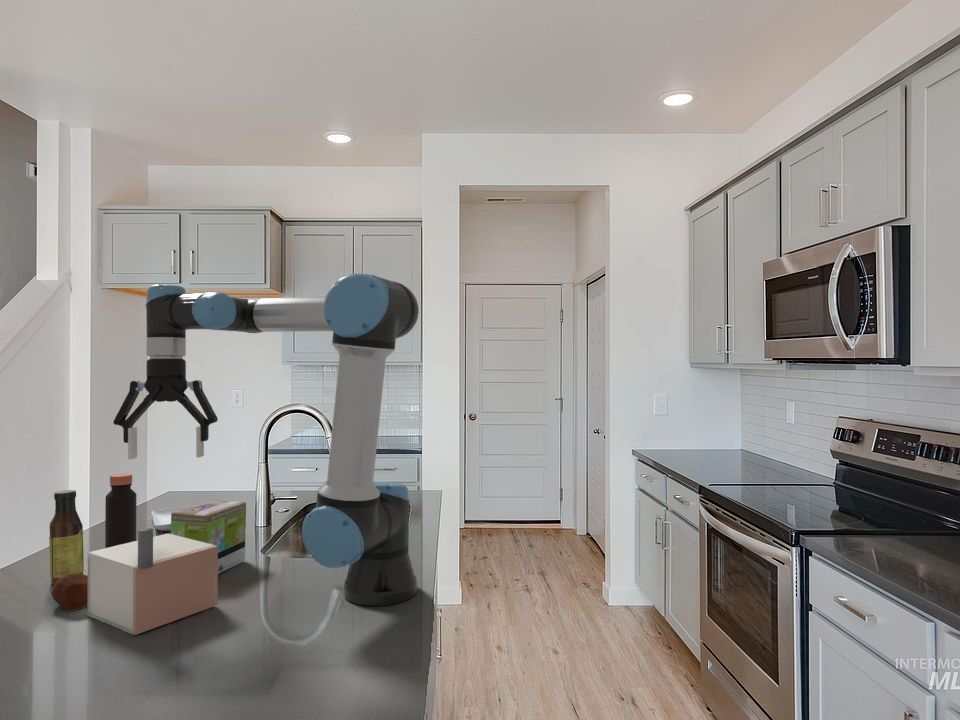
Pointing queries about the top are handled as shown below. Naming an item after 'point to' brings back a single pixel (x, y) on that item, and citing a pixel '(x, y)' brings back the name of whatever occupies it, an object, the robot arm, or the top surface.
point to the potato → (71, 591)
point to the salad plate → (165, 517)
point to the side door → (172, 584)
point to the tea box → (215, 528)
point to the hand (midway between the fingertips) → (166, 457)
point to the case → (125, 576)
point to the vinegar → (120, 511)
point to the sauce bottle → (65, 537)
